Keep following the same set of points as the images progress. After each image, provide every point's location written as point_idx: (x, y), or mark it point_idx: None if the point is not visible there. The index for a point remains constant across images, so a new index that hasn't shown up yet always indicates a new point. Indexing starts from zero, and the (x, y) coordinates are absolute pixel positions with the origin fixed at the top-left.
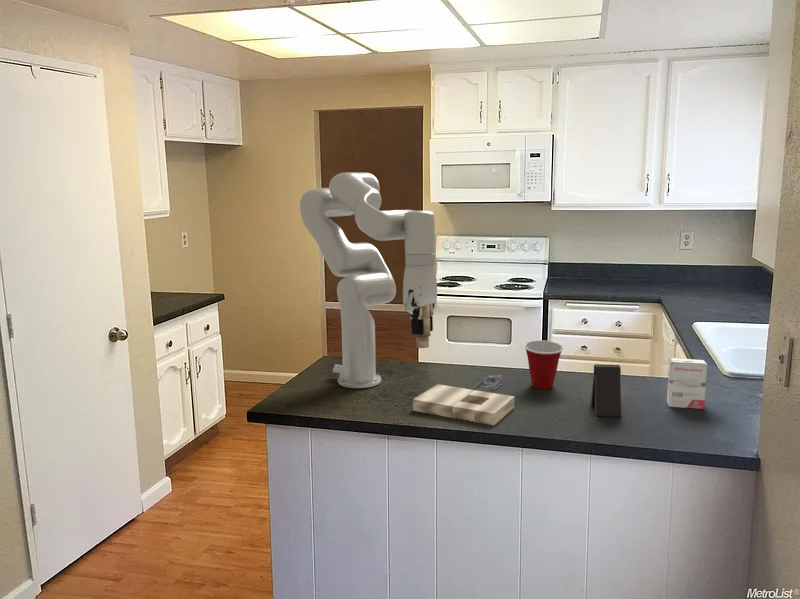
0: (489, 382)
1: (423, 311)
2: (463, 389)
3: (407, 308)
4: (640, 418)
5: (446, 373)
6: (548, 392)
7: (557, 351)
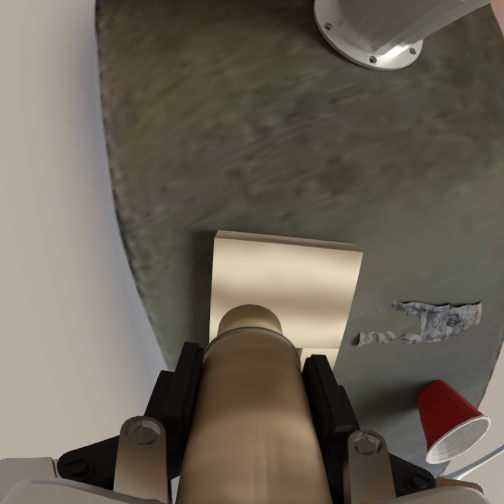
0: (443, 320)
1: None
2: (338, 325)
3: (2, 477)
4: None
5: (488, 211)
6: (401, 410)
7: (433, 462)
